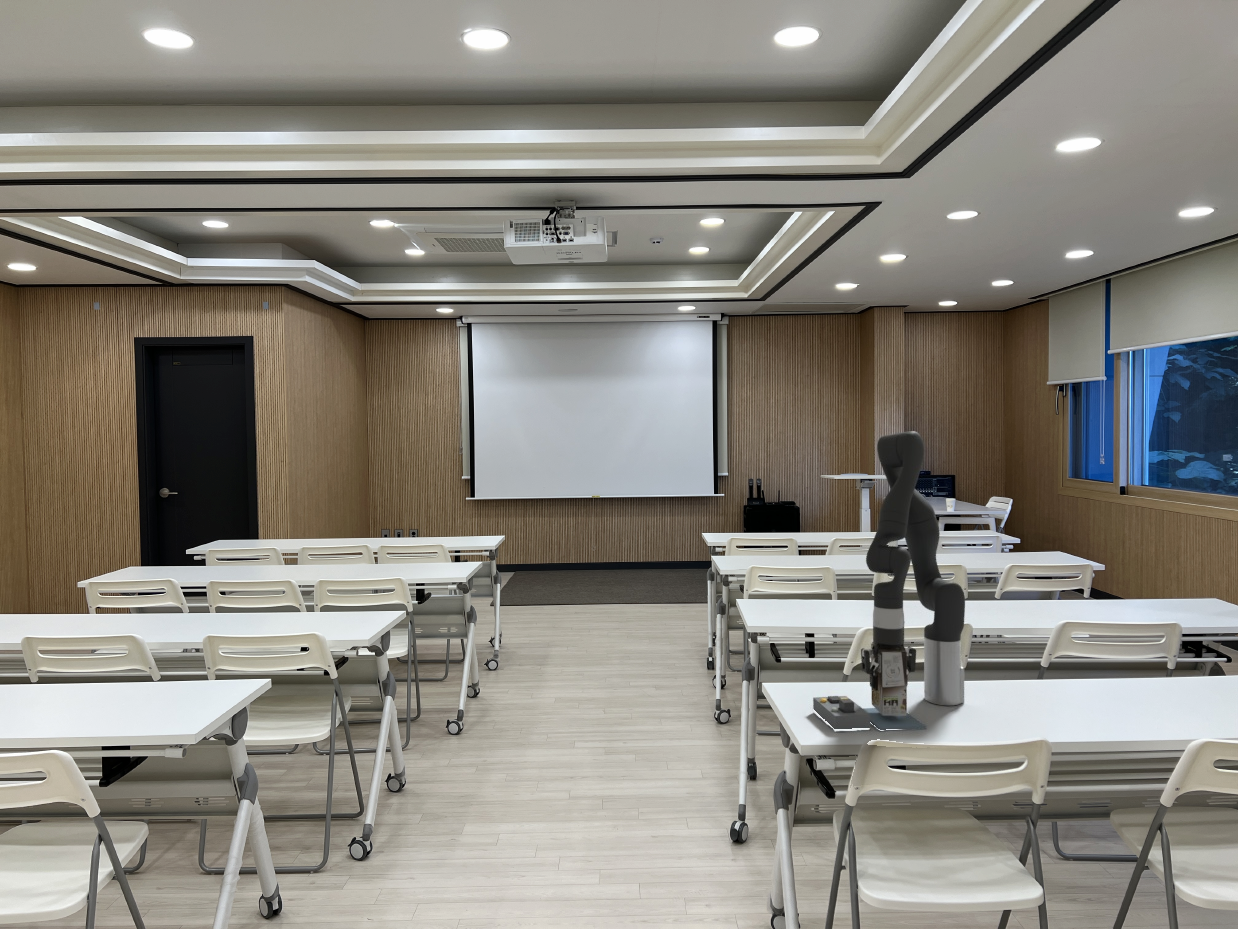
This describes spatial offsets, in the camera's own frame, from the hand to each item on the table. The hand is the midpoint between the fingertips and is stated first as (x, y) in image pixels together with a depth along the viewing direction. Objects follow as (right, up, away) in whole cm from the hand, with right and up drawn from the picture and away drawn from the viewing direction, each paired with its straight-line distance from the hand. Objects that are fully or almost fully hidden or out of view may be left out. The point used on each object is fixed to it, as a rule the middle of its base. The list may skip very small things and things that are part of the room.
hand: (888, 689), depth 190 cm
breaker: (-12, -4, -4) cm, 13 cm away
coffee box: (0, -6, 0) cm, 6 cm away
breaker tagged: (-13, -6, +3) cm, 14 cm away
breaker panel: (-12, -8, -1) cm, 15 cm away
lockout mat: (0, -8, 0) cm, 8 cm away
